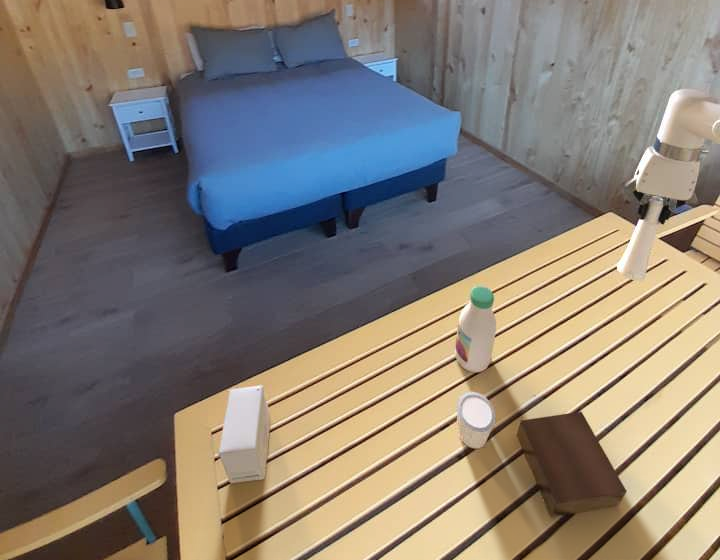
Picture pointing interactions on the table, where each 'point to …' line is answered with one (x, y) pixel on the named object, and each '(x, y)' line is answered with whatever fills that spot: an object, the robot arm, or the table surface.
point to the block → (569, 464)
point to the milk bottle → (476, 331)
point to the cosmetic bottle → (641, 243)
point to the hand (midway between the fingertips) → (650, 217)
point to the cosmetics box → (245, 435)
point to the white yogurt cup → (474, 419)
